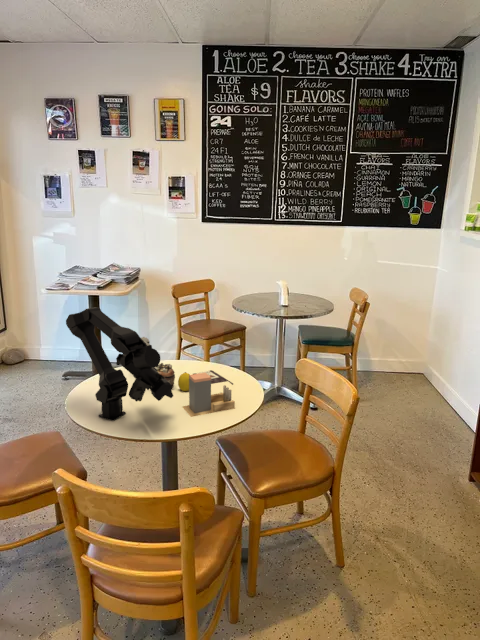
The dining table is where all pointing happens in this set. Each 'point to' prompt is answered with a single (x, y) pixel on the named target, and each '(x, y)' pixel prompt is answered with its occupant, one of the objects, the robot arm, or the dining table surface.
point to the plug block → (200, 392)
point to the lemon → (184, 382)
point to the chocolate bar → (215, 377)
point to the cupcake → (166, 372)
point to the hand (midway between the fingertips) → (172, 396)
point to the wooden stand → (216, 403)
